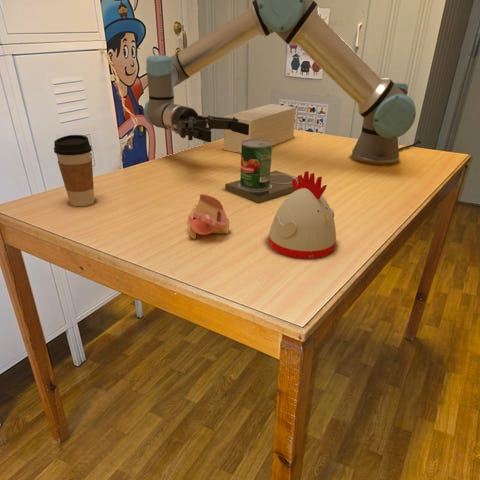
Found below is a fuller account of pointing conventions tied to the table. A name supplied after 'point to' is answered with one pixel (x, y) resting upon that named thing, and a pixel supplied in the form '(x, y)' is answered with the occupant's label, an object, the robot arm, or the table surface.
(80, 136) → the coffee cup
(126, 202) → the table surface
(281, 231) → the kitchen timer
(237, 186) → the hob
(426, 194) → the table surface
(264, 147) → the canned tomato
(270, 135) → the beige rectangular block
